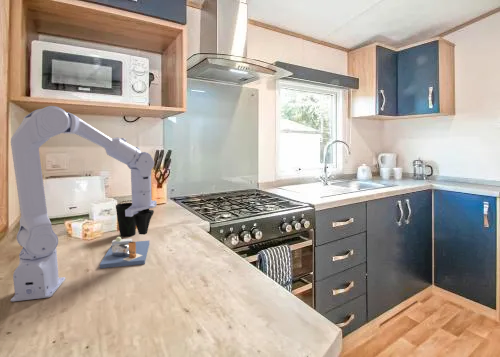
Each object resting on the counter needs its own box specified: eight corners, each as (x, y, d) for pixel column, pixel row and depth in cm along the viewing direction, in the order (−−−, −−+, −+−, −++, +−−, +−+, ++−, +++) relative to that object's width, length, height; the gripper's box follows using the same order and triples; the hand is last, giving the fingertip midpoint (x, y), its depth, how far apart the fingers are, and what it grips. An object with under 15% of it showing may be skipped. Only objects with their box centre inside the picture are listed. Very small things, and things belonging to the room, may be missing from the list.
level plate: (144, 264, 84) (144, 250, 84) (100, 268, 81) (99, 254, 80) (149, 243, 101) (149, 232, 101) (112, 246, 98) (112, 235, 98)
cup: (130, 238, 107) (129, 207, 106) (112, 237, 108) (111, 206, 107) (142, 232, 114) (141, 203, 113) (125, 231, 116) (123, 202, 115)
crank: (108, 254, 88) (108, 240, 87) (123, 249, 92) (122, 236, 92) (127, 260, 83) (126, 245, 83) (141, 254, 88) (141, 240, 87)
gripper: (140, 195, 80) (142, 242, 81) (164, 188, 94) (165, 228, 95) (117, 194, 81) (119, 240, 82) (144, 187, 95) (146, 226, 97)
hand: (142, 233), depth 89 cm, fingers closed
